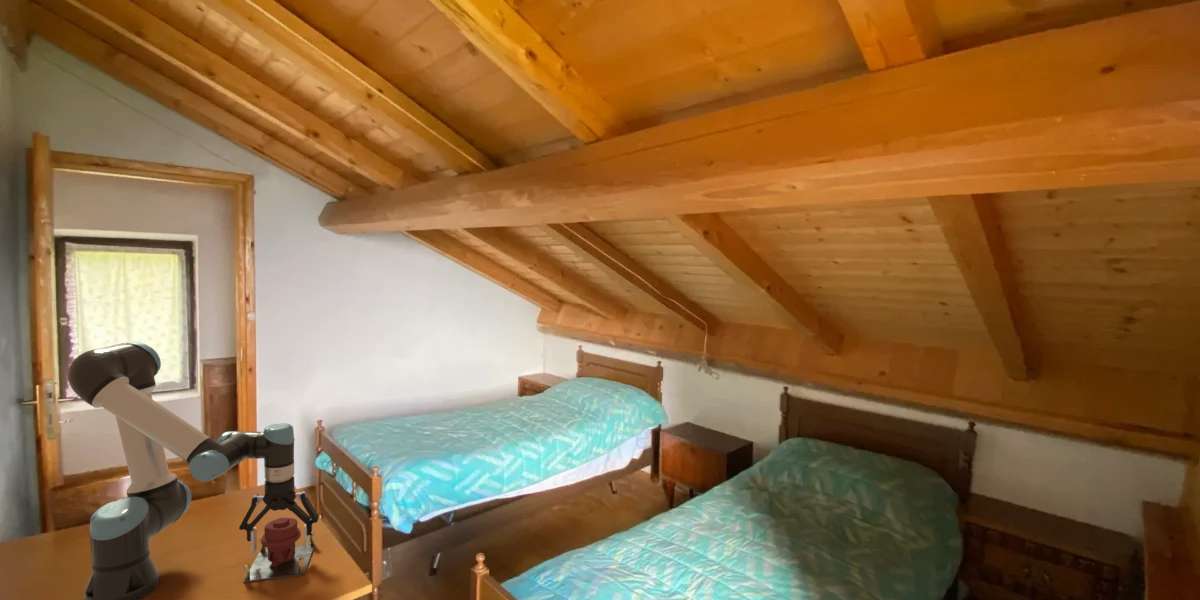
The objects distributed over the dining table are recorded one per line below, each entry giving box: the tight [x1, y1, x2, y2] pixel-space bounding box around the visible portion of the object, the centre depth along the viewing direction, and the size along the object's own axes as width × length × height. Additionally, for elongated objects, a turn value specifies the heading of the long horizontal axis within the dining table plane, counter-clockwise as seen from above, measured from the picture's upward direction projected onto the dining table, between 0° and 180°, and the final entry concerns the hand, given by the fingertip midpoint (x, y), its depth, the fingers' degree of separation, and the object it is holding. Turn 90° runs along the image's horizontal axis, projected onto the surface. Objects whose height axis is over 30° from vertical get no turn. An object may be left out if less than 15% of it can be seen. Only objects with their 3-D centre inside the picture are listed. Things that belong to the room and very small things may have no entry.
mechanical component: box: [261, 517, 302, 567], centre depth 165 cm, size 12×10×10 cm
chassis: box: [243, 530, 316, 584], centre depth 165 cm, size 15×17×4 cm
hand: (280, 548), depth 165 cm, fingers open, 13 cm apart
